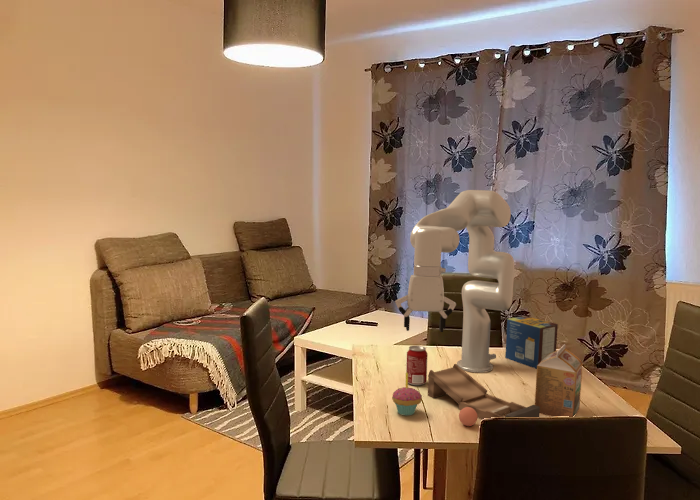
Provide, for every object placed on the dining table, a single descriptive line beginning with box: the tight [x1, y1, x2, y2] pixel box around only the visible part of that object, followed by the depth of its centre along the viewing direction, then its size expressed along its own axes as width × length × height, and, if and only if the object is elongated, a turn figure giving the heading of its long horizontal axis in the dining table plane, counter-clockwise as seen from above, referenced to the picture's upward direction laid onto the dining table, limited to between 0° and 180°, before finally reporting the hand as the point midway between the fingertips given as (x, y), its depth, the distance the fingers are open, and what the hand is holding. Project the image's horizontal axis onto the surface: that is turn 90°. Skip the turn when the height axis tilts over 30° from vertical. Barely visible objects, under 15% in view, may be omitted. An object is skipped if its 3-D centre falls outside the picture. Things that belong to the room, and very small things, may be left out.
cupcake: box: [391, 369, 423, 416], centre depth 163 cm, size 9×8×12 cm
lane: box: [427, 363, 540, 420], centre depth 167 cm, size 32×12×8 cm, turn 37°
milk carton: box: [534, 343, 584, 417], centre depth 166 cm, size 11×10×19 cm
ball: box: [458, 407, 479, 427], centre depth 155 cm, size 5×5×5 cm
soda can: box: [405, 345, 428, 387], centre depth 187 cm, size 7×7×12 cm
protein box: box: [504, 315, 559, 370], centre depth 212 cm, size 10×15×16 cm
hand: (424, 330), depth 163 cm, fingers open, 9 cm apart
